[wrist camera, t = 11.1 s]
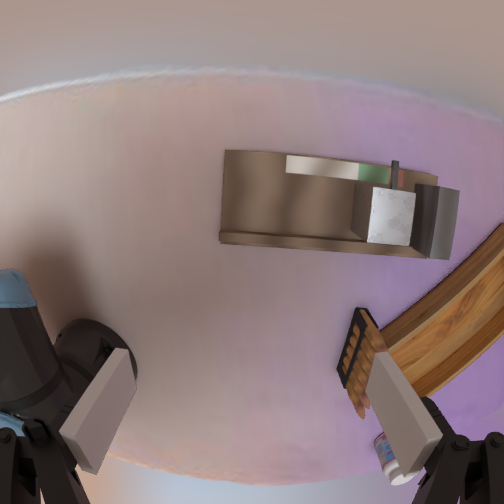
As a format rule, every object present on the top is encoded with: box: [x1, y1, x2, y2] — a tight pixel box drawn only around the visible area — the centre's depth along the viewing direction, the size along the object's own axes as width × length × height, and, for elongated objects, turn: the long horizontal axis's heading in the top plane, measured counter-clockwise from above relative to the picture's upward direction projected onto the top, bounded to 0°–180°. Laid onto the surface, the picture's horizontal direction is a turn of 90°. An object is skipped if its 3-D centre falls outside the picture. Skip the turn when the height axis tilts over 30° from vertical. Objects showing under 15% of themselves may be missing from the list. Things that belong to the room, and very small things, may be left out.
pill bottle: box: [375, 433, 414, 485], centre depth 41 cm, size 6×6×11 cm
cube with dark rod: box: [351, 160, 416, 246], centre depth 31 cm, size 5×9×6 cm, turn 176°
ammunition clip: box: [337, 308, 390, 419], centre depth 35 cm, size 11×2×12 cm, turn 172°
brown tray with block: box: [219, 150, 460, 260], centre depth 32 cm, size 27×11×8 cm, turn 86°
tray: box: [379, 223, 504, 398], centre depth 37 cm, size 31×15×6 cm, turn 129°
